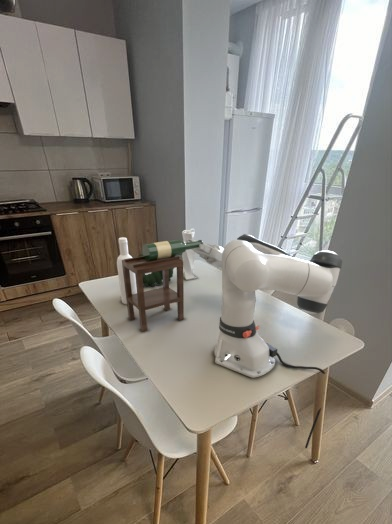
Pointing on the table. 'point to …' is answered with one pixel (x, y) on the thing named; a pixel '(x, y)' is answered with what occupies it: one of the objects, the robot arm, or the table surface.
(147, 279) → the toy figurine
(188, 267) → the skyscraper
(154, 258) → the bottle
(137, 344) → the table surface
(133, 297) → the stand
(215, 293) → the table surface
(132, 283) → the bottle
